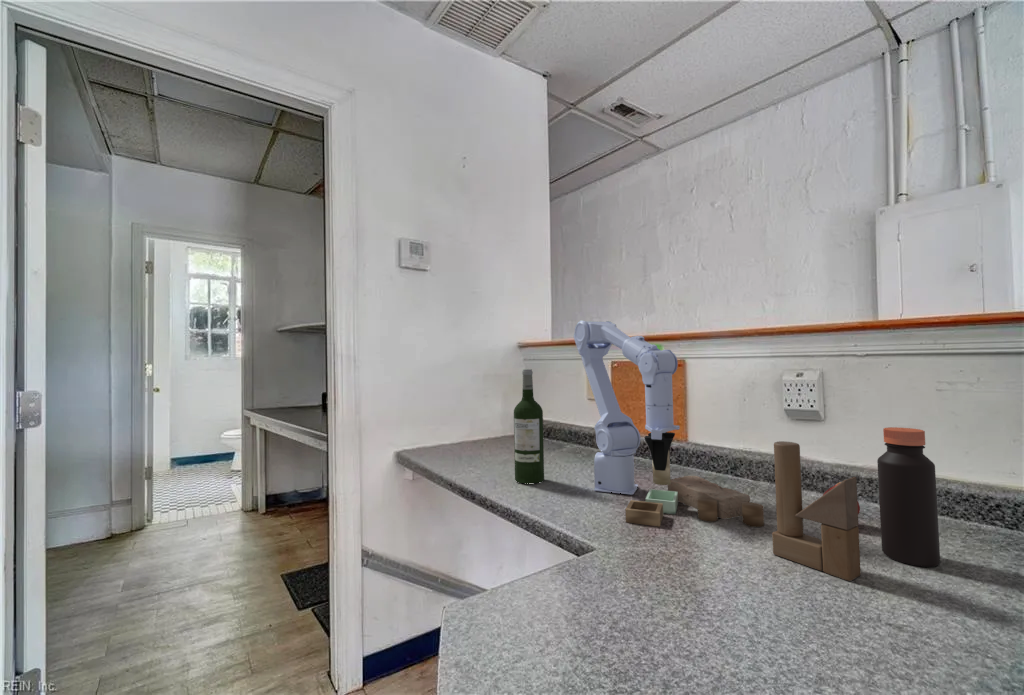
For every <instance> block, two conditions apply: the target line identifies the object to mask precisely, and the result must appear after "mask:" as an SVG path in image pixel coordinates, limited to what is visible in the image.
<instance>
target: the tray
mask: <svg viewBox="0 0 1024 695" xmlns="http://www.w3.org/2000/svg"><path fill="white" fill-rule="evenodd" d="M644 502H654V503H663V514H668V515H669V514H670V515H676V514H677V510H678V505H679V501H678V492H676V491H668V490H664V489H654V488H652V489H651V488H649V491H648V493H647V494H646V496H645V501H644Z"/></svg>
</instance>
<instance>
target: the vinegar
mask: <svg viewBox="0 0 1024 695" xmlns="http://www.w3.org/2000/svg"><path fill="white" fill-rule="evenodd" d="M883 442H884V446H886V451H885V452H884V453H883V454H881V456H879V457H877V461H876V462H877V477H878V478H877V480H878V500H879V516H880V517H879V518H880V521H879V522H880V535H881V536H880V541H881V551H882V553H883V554H884V555H885V556H886V557H888V558H889V559H891V560H893V561H895V562H899V563H902V564H905V565H910V566H916V567H924V568H931V567H933V568H934V567H937V566H938V565H940V563H941V553H940V551H941V549H940V533H939V530H940V529H939V515H938V514H939V512H938V498H937V477H936V476H937V475H936V465H935V463H934V462H933V461H932V460H931V459H929V458H928V457H927V456H926V455H925V454H924V449H925V448H926V446H925V445H926V432H925V430H923V429H920V428H911V427H897V426H895V427H894V426H893V427H884V428H883Z"/></svg>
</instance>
